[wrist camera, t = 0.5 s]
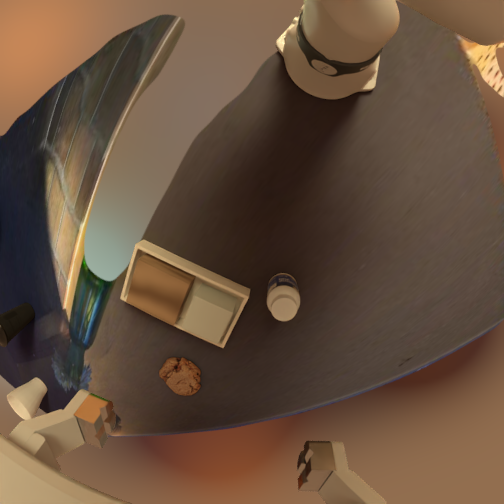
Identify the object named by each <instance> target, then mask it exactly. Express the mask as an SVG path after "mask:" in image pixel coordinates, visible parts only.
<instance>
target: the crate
mask: <svg viewBox="0 0 504 504" xmlns="http://www.w3.org/2000/svg"><path fill="white" fill-rule="evenodd" d="M146 253H148V254H150V255H153V256H155V257H157V258H159V259H161V260H163V261H165V262H167V263H169V264H171V265H173V266H175V267H177V268H180V269H182V270H184V271H186V272H188V273H190V274H192V275H194V276H196V278H195V280H194V283H193V285H192V288H191V290H190V293H189V295H188V298H187V300H186V303H185V305H184V308H183V311H182V313H181V315H180V316H179V318H178V320H177V321H176V323H175V324H174V326H175V327H177V328H179V329H181V330H183V331H185V332H188V333H190V334H192V335H194V336H196V337H199V338H201V339H203V340H205V341H208V342H210V343H212V344H214V345H217V346H219V347H221V348H224V346H225V344H226V342H227V340H228V338H229V336H230V334H231V332H232V330H233V328H234V326H235V324H236V322H237V320H238V318H239V316H240V314H241V312H242V310H243V308H244V306H245V304H246V302H247V300H248V298H249V295H250V289H249V288H247V287H245V286H242V285H240V284H238V283H236V282H234V281H231V280H229V279H227V278H225V277H222V276H220V275H218V274H216V273H214V272H212V271H209V270H207V269H205V268H203V267H201V266H199V265H196V264H194V263H192V262H190V261H188V260H186V259H184V258H181V257H179V256H177V255H175V254H173V253H171V252H169V251H167V250H165V249H162V248H160V247H158V246H156V245H154V244H152V243H150V242H148V241H146V240H142V241H140V242H138V243H136V245H135V248H134V251H133V255H132V258H131V262H130V265H129V268H128V272H127V276H126V279H125V283H124V287H123V290H122V294H121V298H120V299H122V300H124V301H125V302H126V299H127V296H128V292H129V288H130V285H131V281H132V278H133V274H134V271H135V268H136V264H137V261H138V259H139V258H141V257H142V256H144V255H145V254H146ZM202 283H204V284H207V285H209V286H211V287H213V288H215V289H218V290H220V291H222V292H224V293H226V294H229V295H231V296H233V297H235V298H237V301H236V305H235V308H234V312H233V314H232V316H231V318H230V320H229V322H228V324H227V327H226V329H225V331H224V333H223V335H222V337H221V339H220V341H219V343H218V344H216V343H214V342H212V341H209V340H207V339H205V338H203V337H200V336H198V335H196V334H194V333H192V332H189V331H187V330H185V329H183V328H181V327H182V325H183V322H184V320H185V317H186V315H187V312H188V310H189V307H190V305H191V302H192V300H193V297H194V295H195V294H196V292H197V290H198V289H199V287H200V286H201V284H202ZM127 303H128V302H127ZM129 304H130V303H129ZM131 305H132V304H131ZM144 312H145V311H144ZM146 313H147V312H146ZM148 314H149V313H148ZM150 315H151V314H150ZM152 316H153V315H152ZM154 317H155V316H154ZM156 318H157V317H156ZM158 319H159V318H158ZM160 320H161V319H160ZM162 321H163V320H162ZM164 322H165V321H164Z"/></svg>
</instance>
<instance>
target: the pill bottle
mask: <svg viewBox="0 0 504 504" xmlns="http://www.w3.org/2000/svg"><path fill="white" fill-rule="evenodd" d="M267 306H268V308H269V310H270V311H271V313H272V315H273V316H274V317H275V318H276V319H277V320H280V321H288V320H290V319H292V318H293V317H294V316H295V315H296V313H297V310H298V308H299V306H300V296H299V291H298V286H297V282H296V280H295V279H294V278H293V277H292V276H291V275H289V274H285V273H280V274H277V275H275V276H273V277H272V278H271V279H270V281H269V283H268V290H267Z"/></svg>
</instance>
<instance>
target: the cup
mask: <svg viewBox="0 0 504 504" xmlns="http://www.w3.org/2000/svg"><path fill="white" fill-rule="evenodd" d="M46 392H47V388H46V386H45V384H44V383H43V382H42V381H41V380H40V379H38V378H34V379H32V380H31V381H30V382H28V383H26V384H24V385H22V386H20V387H18V388H16V389H15V390H13V391H12V392H10V393H9V394H8V395H7V400H8V402H9V404H10V406H11V407H12V408H13V410H14V411H15V412H16V413H17V414H18V415H19V416H20V417H21V418H23V419H24V420H28V419H32V418H33V417H34V416H35V414H36V412H37V410H38V408H39V406H40V403H41V401H42V399H43V397H44V395H45V394H46Z"/></svg>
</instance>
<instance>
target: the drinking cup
mask: <svg viewBox="0 0 504 504" xmlns="http://www.w3.org/2000/svg"><path fill="white" fill-rule="evenodd" d="M34 317H35V313H34V310H33V308H32V306H31V305H30V304H29V303H24V304H22V305H20V306H18V307H15V308H13V309H11V310H9V311H7V312H5V313H3V314H1V315H0V345H1V346H3V347H5V346H7V344H8V342H9V341H10V340H11V339H12V338H13V337H15V336H16V335H17V334H18V333H19V332H20V331H21V330H22V329H23V328H24V327H25V326H26V325H27V324H28V323H29V322H30V321H31V320H33V319H34Z"/></svg>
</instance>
